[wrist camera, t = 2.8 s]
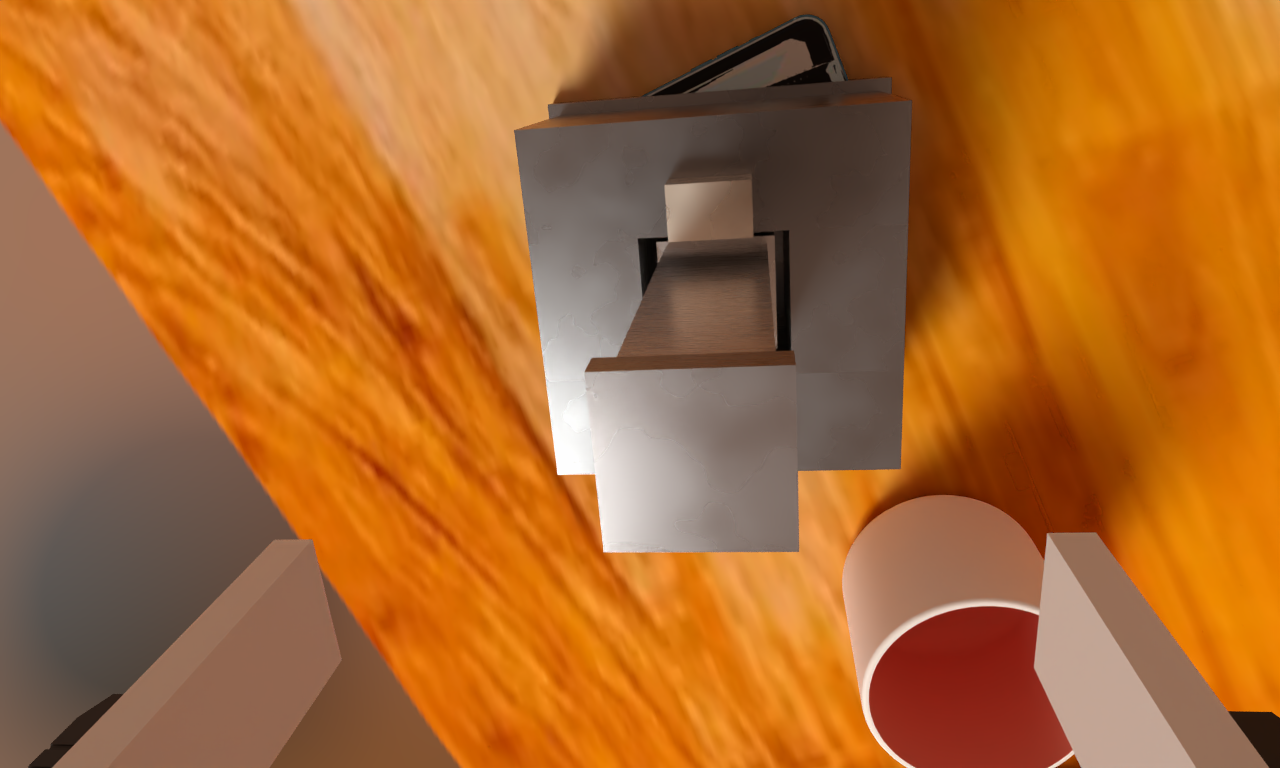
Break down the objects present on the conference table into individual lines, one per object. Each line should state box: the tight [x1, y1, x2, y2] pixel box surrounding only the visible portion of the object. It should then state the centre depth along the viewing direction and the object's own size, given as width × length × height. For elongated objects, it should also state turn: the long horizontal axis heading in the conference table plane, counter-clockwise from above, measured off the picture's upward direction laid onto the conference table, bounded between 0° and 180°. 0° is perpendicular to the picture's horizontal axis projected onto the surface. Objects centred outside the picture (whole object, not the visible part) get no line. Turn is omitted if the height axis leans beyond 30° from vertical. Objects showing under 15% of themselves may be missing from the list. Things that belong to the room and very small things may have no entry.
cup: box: [842, 495, 1074, 768], centre depth 41 cm, size 10×10×10 cm
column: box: [584, 231, 799, 552], centre depth 30 cm, size 5×5×21 cm
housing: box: [514, 77, 912, 475], centre depth 36 cm, size 15×15×10 cm
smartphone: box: [641, 15, 849, 97], centre depth 39 cm, size 7×1×15 cm
